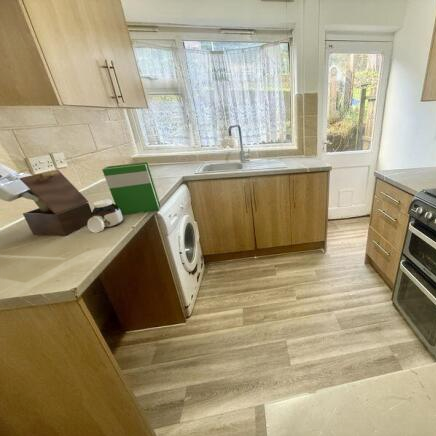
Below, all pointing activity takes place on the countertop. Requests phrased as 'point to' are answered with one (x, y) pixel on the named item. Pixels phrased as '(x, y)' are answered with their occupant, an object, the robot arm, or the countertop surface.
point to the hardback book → (132, 188)
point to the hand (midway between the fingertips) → (42, 198)
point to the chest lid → (54, 190)
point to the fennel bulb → (41, 204)
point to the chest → (58, 220)
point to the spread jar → (104, 216)
